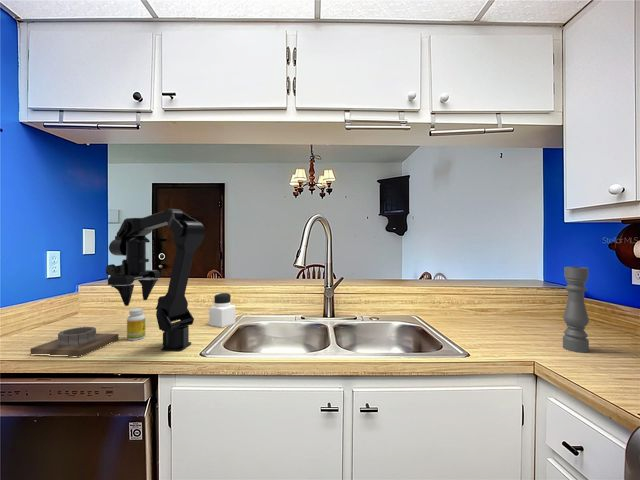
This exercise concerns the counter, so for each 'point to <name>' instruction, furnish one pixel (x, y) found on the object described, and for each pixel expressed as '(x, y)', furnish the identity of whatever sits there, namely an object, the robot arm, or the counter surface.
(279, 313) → the counter surface
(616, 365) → the counter surface
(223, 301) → the medicine bottle
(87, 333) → the brown base with ring
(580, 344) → the candle holder
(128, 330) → the supplement bottle
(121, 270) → the robot arm
